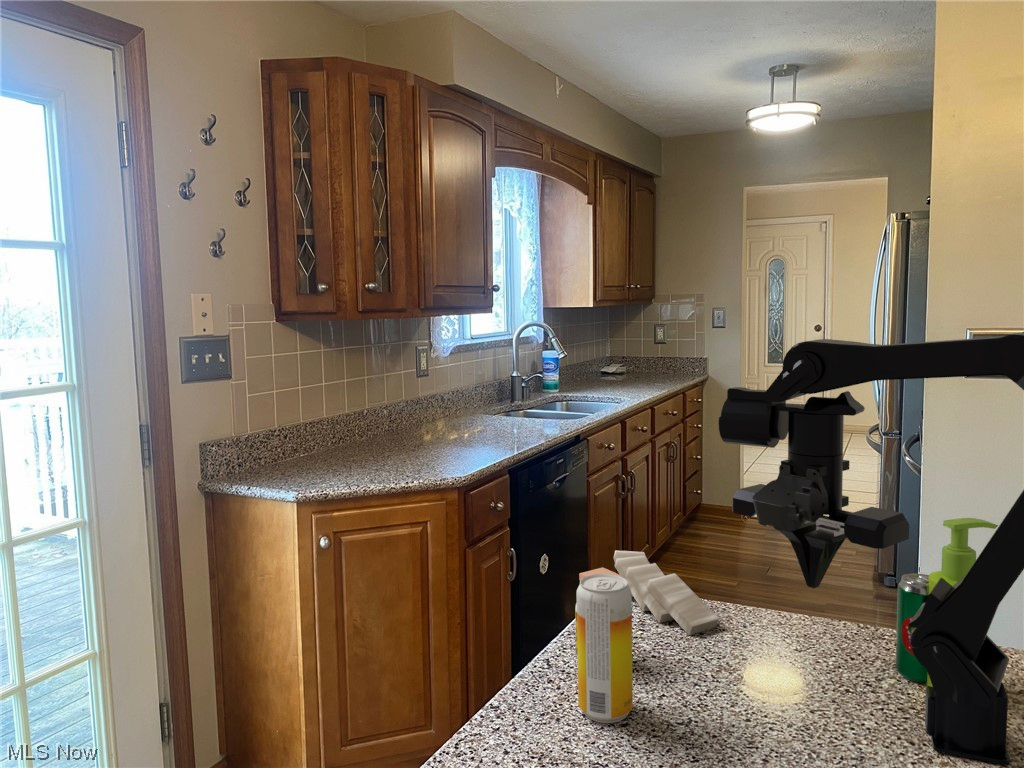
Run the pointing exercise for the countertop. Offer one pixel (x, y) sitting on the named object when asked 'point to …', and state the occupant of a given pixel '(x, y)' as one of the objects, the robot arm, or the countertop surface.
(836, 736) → the countertop surface
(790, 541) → the robot arm
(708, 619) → the domino
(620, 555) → the domino
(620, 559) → the domino
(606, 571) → the domino
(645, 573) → the domino
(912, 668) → the soda can
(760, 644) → the countertop surface
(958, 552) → the soap dispenser
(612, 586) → the beer can
